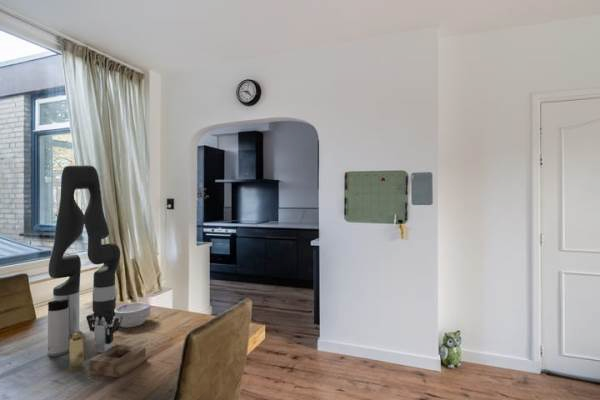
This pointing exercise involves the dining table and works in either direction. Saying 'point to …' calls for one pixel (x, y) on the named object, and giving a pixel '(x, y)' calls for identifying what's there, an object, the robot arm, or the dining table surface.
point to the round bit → (76, 352)
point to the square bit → (101, 338)
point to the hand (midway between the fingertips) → (104, 342)
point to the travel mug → (58, 327)
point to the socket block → (117, 360)
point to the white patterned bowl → (133, 313)
